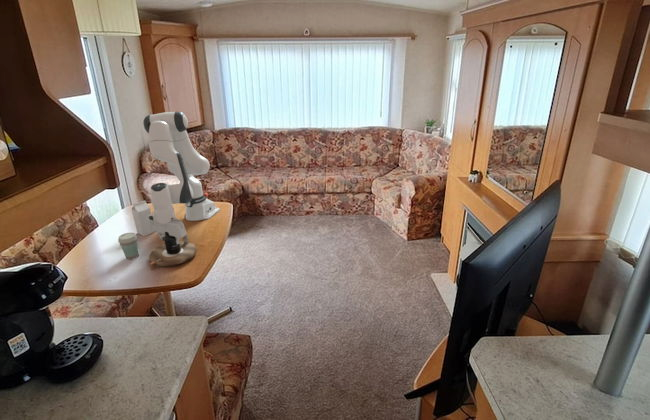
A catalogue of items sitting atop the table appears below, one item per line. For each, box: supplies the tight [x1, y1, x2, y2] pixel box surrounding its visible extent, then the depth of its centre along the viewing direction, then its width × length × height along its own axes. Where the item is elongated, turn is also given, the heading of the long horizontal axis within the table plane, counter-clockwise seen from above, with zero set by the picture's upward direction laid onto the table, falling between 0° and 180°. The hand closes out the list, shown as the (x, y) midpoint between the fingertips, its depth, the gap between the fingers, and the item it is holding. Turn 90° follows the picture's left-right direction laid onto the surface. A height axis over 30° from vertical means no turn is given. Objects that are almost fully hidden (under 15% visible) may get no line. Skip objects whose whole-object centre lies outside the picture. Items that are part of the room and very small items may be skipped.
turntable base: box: [149, 261, 187, 271], centre depth 182 cm, size 22×18×4 cm
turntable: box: [148, 231, 197, 267], centre depth 182 cm, size 22×22×8 cm
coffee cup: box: [117, 232, 140, 260], centre depth 183 cm, size 8×8×12 cm
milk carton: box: [131, 199, 154, 237], centre depth 207 cm, size 7×7×19 cm
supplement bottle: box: [163, 232, 181, 255], centre depth 181 cm, size 7×7×12 cm
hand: (170, 241), depth 181 cm, fingers open, 8 cm apart
